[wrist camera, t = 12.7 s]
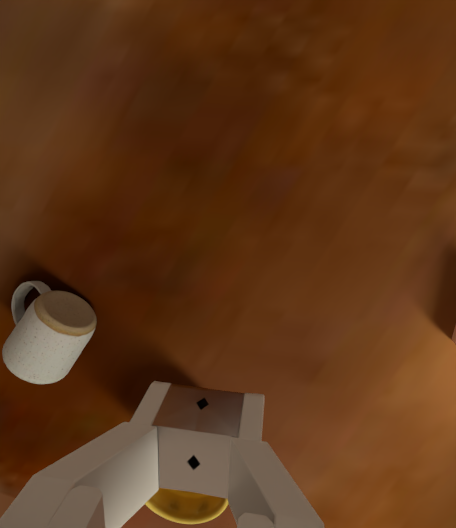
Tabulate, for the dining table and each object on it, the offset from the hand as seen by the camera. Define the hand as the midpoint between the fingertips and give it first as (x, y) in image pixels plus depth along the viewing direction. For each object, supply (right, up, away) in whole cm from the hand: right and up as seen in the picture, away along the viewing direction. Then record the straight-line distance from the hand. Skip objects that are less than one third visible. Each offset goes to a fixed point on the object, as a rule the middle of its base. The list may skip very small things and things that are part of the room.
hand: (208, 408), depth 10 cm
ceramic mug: (-20, -2, +35) cm, 40 cm away
